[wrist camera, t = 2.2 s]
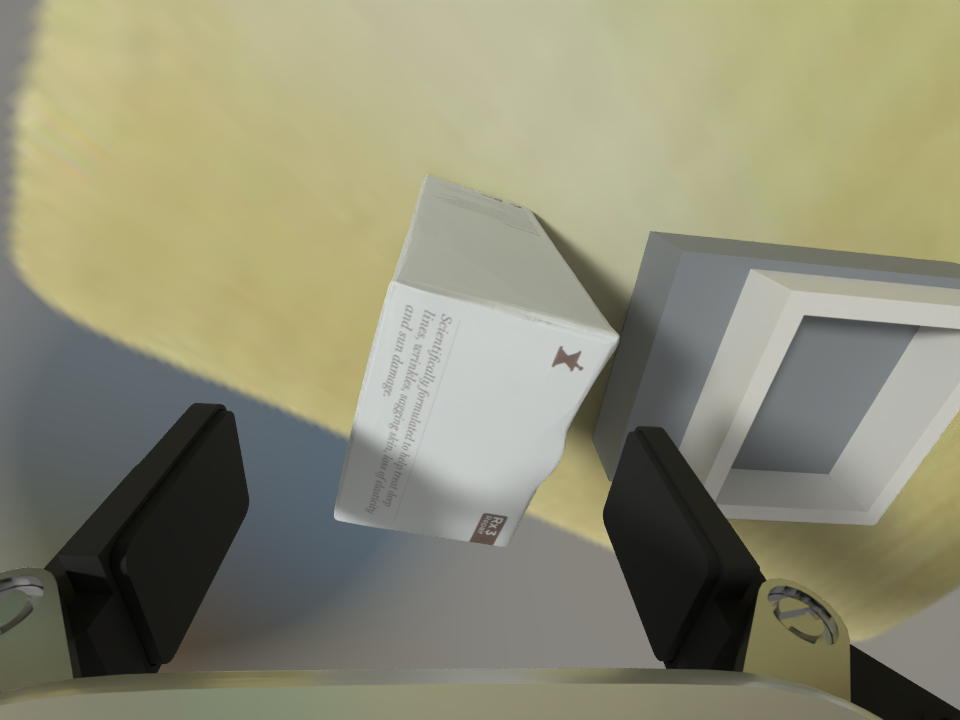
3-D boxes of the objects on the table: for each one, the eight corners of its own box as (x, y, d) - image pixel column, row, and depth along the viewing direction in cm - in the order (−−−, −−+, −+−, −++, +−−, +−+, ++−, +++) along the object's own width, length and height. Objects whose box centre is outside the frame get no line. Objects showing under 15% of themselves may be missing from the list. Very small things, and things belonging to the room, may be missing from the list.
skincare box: (425, 171, 22) (376, 250, 9) (538, 210, 23) (637, 328, 10) (388, 321, 26) (316, 527, 13) (487, 348, 27) (513, 563, 14)
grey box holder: (954, 262, 26) (1109, 309, 20) (837, 454, 32) (926, 534, 26) (650, 231, 24) (715, 270, 18) (592, 439, 31) (625, 520, 25)
